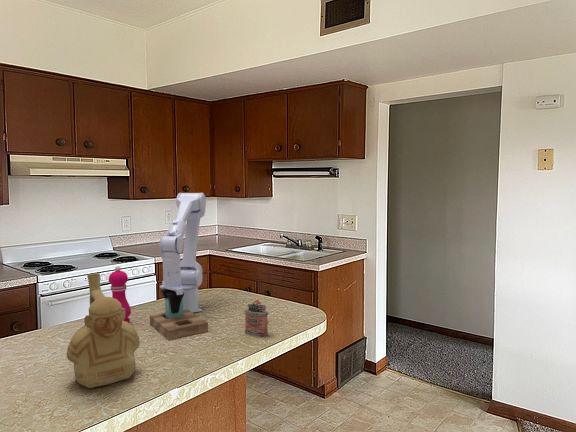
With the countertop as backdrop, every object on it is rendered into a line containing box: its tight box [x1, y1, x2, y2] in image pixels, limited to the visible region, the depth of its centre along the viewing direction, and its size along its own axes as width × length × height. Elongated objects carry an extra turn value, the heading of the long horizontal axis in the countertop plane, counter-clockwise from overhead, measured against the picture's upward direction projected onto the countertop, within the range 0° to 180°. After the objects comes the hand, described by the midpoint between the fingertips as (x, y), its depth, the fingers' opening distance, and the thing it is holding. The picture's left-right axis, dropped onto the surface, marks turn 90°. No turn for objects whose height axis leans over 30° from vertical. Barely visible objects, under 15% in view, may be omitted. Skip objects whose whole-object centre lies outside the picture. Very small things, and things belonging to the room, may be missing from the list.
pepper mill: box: [108, 266, 132, 324], centre depth 150 cm, size 7×7×20 cm
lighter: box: [244, 302, 269, 338], centre depth 141 cm, size 8×3×10 cm, turn 62°
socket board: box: [149, 309, 209, 341], centre depth 148 cm, size 18×13×3 cm
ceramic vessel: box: [65, 272, 140, 389], centre depth 111 cm, size 17×20×25 cm
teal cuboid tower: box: [164, 298, 184, 319], centre depth 151 cm, size 4×5×8 cm
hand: (173, 311), depth 151 cm, fingers closed on teal cuboid tower, 3 cm apart
